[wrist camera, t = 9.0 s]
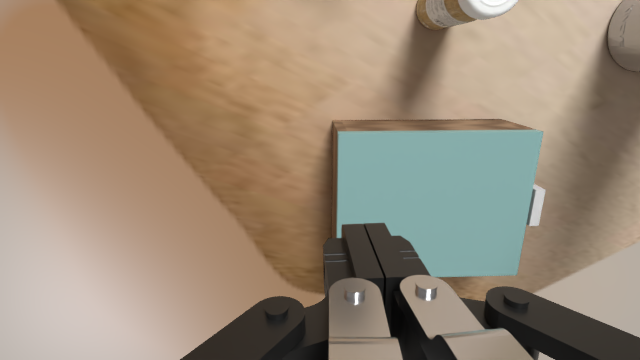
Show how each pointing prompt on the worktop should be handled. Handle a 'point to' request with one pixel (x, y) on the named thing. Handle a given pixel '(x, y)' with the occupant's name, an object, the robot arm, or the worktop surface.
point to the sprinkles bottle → (459, 11)
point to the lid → (444, 193)
